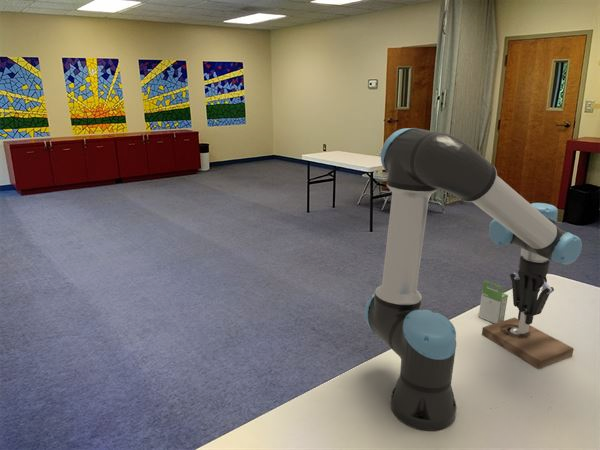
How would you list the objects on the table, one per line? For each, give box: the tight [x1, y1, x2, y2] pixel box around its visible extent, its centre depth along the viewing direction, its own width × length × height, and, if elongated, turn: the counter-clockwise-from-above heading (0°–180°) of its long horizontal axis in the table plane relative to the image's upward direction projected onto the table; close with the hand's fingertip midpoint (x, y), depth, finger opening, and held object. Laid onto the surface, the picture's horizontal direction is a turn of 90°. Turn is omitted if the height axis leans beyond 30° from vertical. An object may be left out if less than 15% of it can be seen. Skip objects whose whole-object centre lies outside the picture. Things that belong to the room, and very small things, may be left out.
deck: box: [481, 317, 574, 370], centre depth 137 cm, size 20×14×2 cm
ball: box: [509, 328, 521, 335], centre depth 141 cm, size 3×3×3 cm
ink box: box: [478, 280, 509, 324], centre depth 150 cm, size 7×4×13 cm, turn 37°
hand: (523, 331), depth 138 cm, fingers closed
